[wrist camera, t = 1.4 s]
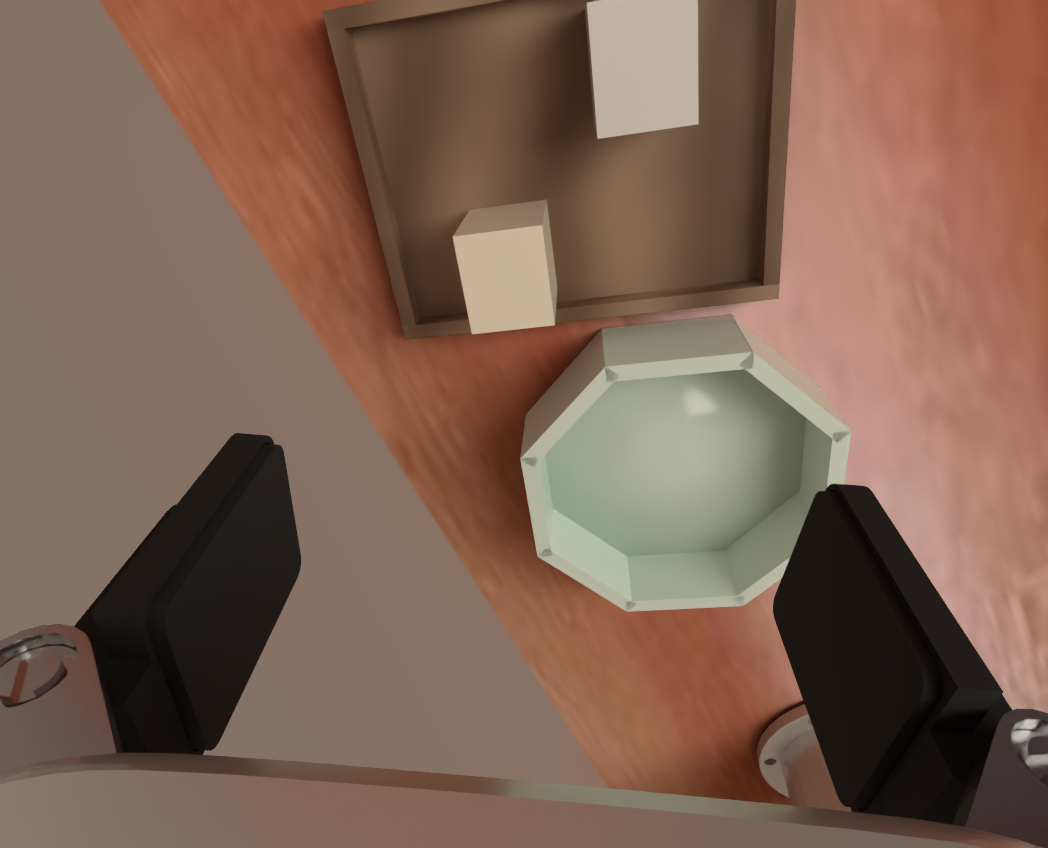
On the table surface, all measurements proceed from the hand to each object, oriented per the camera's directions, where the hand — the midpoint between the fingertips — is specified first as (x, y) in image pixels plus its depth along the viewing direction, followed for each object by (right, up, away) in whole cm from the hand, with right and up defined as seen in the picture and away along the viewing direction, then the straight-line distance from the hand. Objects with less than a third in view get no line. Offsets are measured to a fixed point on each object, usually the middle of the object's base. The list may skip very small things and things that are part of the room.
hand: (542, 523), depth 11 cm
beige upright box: (-1, +10, +19) cm, 22 cm away
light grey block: (+4, +17, +15) cm, 23 cm away
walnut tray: (+2, +14, +17) cm, 22 cm away
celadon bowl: (+8, 0, +25) cm, 26 cm away
